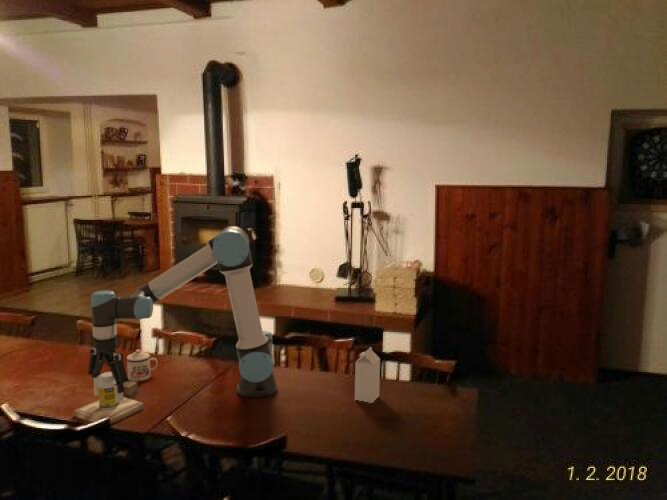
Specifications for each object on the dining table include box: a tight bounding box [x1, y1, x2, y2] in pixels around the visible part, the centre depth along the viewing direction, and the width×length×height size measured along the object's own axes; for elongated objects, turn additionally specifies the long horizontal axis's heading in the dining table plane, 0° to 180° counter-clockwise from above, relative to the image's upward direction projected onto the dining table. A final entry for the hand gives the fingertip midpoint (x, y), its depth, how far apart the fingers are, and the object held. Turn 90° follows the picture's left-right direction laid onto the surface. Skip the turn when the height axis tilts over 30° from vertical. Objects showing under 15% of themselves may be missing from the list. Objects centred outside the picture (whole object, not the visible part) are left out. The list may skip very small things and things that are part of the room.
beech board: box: [73, 397, 145, 424], centre depth 188 cm, size 16×16×2 cm
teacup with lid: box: [125, 349, 159, 383], centre depth 218 cm, size 12×9×12 cm
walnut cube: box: [123, 380, 139, 400], centre depth 200 cm, size 5×5×5 cm
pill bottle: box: [98, 371, 119, 409], centre depth 186 cm, size 6×6×12 cm
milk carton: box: [354, 347, 381, 404], centre depth 199 cm, size 7×7×19 cm
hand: (108, 397), depth 187 cm, fingers open, 10 cm apart
